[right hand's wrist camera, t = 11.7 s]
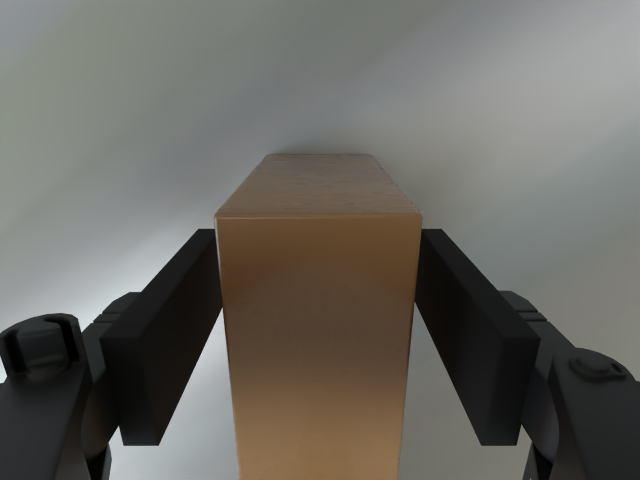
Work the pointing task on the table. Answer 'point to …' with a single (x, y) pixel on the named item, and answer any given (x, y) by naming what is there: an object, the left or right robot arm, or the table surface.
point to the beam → (318, 316)
